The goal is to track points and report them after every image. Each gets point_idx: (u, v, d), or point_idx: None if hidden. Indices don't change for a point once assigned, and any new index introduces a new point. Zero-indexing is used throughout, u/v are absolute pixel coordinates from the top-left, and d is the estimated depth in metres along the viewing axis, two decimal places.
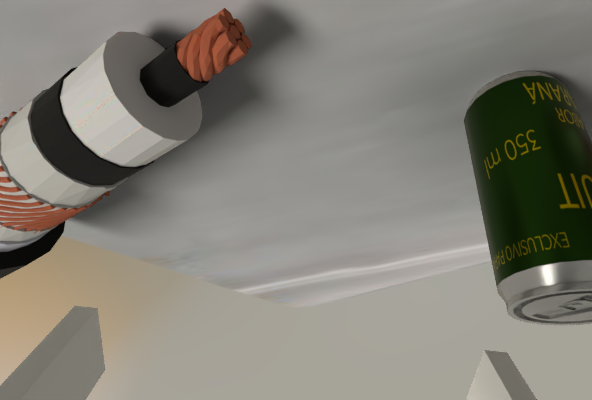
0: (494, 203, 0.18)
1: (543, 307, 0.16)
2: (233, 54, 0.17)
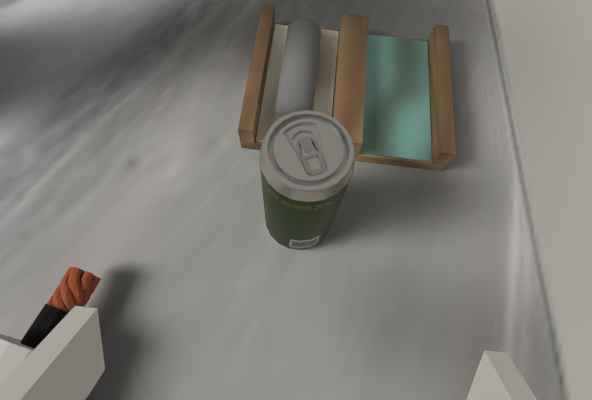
0: (265, 198, 0.24)
1: (293, 161, 0.20)
2: (83, 277, 0.26)
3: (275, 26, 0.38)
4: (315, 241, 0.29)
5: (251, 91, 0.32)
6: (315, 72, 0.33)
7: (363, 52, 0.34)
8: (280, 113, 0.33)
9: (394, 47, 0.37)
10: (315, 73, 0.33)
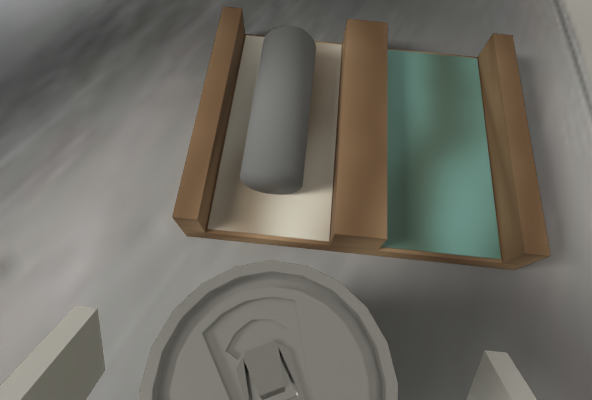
0: None
1: None
2: None
3: (246, 38, 0.25)
4: None
5: (199, 147, 0.19)
6: (308, 114, 0.20)
7: (382, 78, 0.22)
8: (249, 183, 0.20)
9: (427, 67, 0.25)
10: (307, 116, 0.20)
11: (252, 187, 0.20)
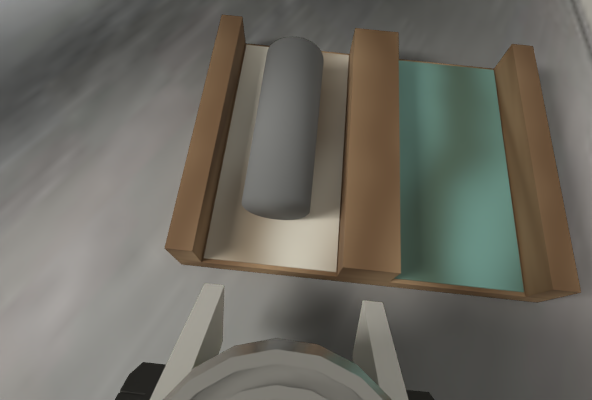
0: None
1: None
2: None
3: (246, 48, 0.23)
4: None
5: (195, 170, 0.18)
6: (316, 134, 0.19)
7: (393, 93, 0.20)
8: (250, 208, 0.18)
9: (440, 80, 0.23)
10: (315, 136, 0.19)
11: (253, 212, 0.18)
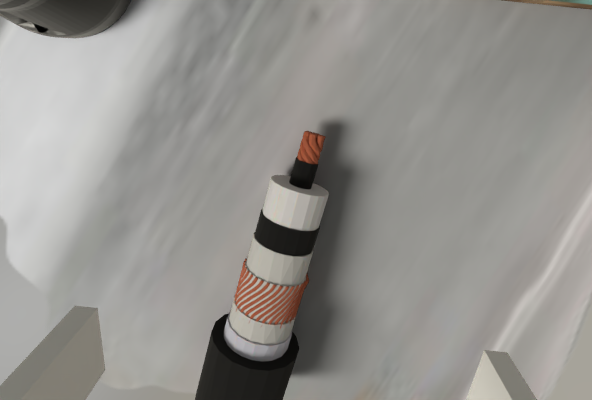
0: None
1: None
2: (318, 140, 0.36)
3: None
4: None
5: None
6: None
7: None
8: None
9: None
10: None
11: None
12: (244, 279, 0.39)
